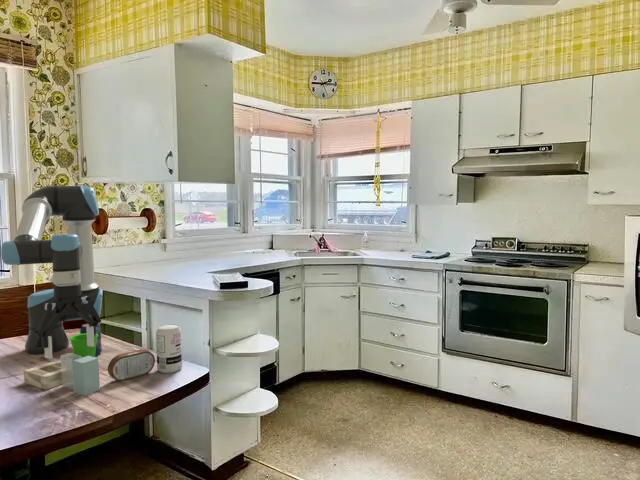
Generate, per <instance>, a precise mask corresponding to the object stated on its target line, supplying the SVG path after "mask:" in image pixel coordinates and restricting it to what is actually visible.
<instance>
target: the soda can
mask: <svg viewBox="0 0 640 480" xmlns="http://www.w3.org/2000/svg"><path fill="white" fill-rule="evenodd" d="M86 326H89V324H88V323H87V322H86V323H84V324H82V325H81V327H80V331H79V332H80V333H79V334H84V333H87V331H86ZM96 334H98V335H99V336H98V337H97V344H96V352H95V358H98V357H100V355H101V353H102V331H101V326H100V323H98V325H97V326H96Z"/></svg>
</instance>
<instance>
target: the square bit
mask: <svg viewBox="0 0 640 480" xmlns="http://www.w3.org/2000/svg"><path fill="white" fill-rule="evenodd" d="M99 366H100V365H99V357H91V356H86V357H82V358H79V359H76V360H73V372H74V390H73V392H74V393H75V394H76V395H77V394H78V395H81V396H88V395H91V394H93V393H95V391H96V392H98V391H100V390H101V388H100V387H101V386H100V384H101V383H100V368H99ZM90 393H91V394H90Z"/></svg>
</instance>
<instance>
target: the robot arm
mask: <svg viewBox="0 0 640 480" xmlns="http://www.w3.org/2000/svg"><path fill="white" fill-rule="evenodd" d="M21 211H22V216H21V219H20V222H19V225H18V227H17V230H16V233H15V236H14V238H13V240H7V241H3V242H2V244H1V248H0V253H1V254H0V255H1V260H2V263H4V264H5V265H8V266H12V265H13V266H15V265H16V266H20V265H35V264H36V265H38V264H39V265H40V264H52V284H53V285H54V286H53V287H52V288H51V289H44V290H41V291H37V292H34V293H33V292H32V293H31V294H30V295H28V298H27V306H26V308H27V314H28V330H29V331H28V334H27V338H26V342H25V346H24V352H25V353H26V354H31V355H43V354H44V358H46V359H50V360H52V359H53V357H54V356H53V353H54V352H55V353H56V352H59V351H62V350H65V349H66V348H68V347H69V345H70V342H69V340H70V339H69V337H68V335H67V333H66V331H65V328H64V322H67V321H70V322H71V321H79V320H83V321H84V322H86V323H88V324H89V326H86V331H87V346H91V347H94V335H96V326H97V325H98V324H100V323H102V319H101V317H100V316H101V313H102V306H103V304H102V303H103V292H104V291H103V288H100V286H99V284H98V283H97V282H96V281H95V271H94V270H95V267H94V247H93V246H94V245H93V230H92V227H93V226H92V224H93V223H94V222H95V221H96V217H97V216H100V210H99V204H98V199H97V193H96V190H95V189H94V187H92V186H86V185H85V186H84V185H48V186H44V187H40V188H38V189H37V190H35V191H33V192H32V193H30V194H29V195H28V196H27V198H26V199H24V201H23V203H22V206H21ZM59 216H60V217H61V218H62V221H63V222H64V223H65V225H66V226H67V227H66V228H67V233H63V234H61V233H60V234H54V235H53V234H52V236H51V237H50V239H43V235H44V231H45V227H46V224H47V220H48V219H50V217H59Z"/></svg>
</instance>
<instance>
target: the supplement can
mask: <svg viewBox="0 0 640 480" xmlns="http://www.w3.org/2000/svg"><path fill="white" fill-rule="evenodd" d="M155 341H156V342H155V344H156V346H155V347H156V367H157V368H156V369H157V371H158V372H160V373H163V374H169V373H175V372H179V371H180V370H181V368H182V367H183V354H182V353H183V352H182V349H183V347H182V345H183V344H182V329H181V327H180V325H179V324H176V323H175V324H174V323H169V324H162V325H159V326H158V327H157V329H156V332H155Z"/></svg>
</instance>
